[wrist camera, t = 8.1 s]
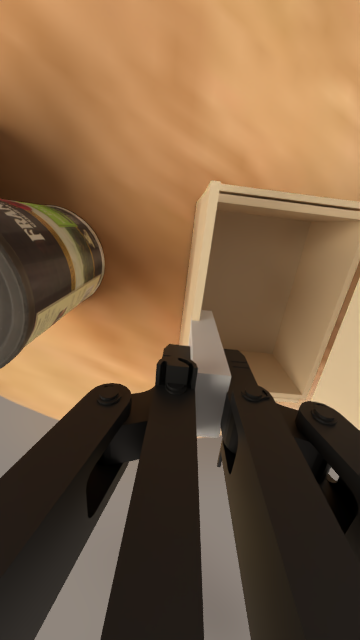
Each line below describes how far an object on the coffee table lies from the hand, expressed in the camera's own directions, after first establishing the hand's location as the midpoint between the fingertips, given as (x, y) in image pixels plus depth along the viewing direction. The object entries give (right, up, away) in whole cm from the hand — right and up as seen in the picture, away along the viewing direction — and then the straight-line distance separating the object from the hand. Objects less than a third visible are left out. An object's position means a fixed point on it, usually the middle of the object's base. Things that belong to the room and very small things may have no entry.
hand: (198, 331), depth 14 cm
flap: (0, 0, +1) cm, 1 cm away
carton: (+6, +4, +12) cm, 14 cm away
